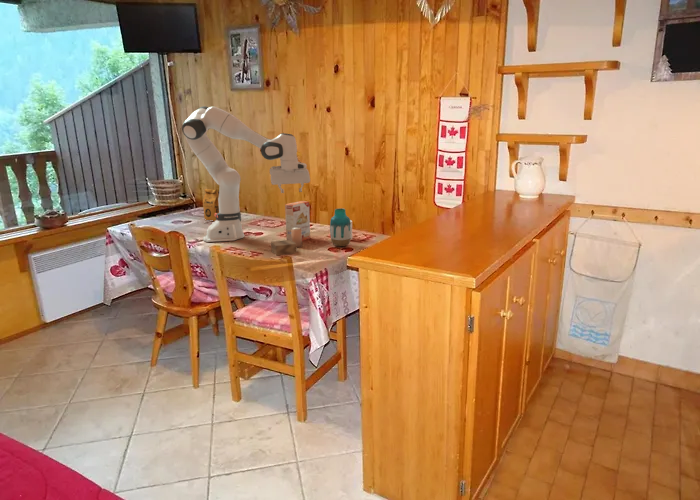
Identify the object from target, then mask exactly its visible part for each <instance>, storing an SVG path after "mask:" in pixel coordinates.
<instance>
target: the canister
mask: <svg viewBox="0 0 700 500" xmlns="http://www.w3.org/2000/svg"><path fill="white" fill-rule="evenodd" d="M291 236H292V241H293V242H294V243H296V249H297V248H301V247H303V241H302V233H301V229H300V228H299V227H295V228H292V229H291Z"/></svg>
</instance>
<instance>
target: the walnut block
mask: <svg viewBox="0 0 700 500" xmlns="http://www.w3.org/2000/svg"><path fill="white" fill-rule="evenodd" d="M270 245H271V247H270V249H271V252H272V253H273V254H274V255H276V256H283V255H284V256H285V255H292V254H297V248H296V243H294V242H293V241H291V240H287V239H285V240H275V241H271V242H270Z"/></svg>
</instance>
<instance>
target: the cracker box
mask: <svg viewBox="0 0 700 500" xmlns="http://www.w3.org/2000/svg"><path fill="white" fill-rule="evenodd" d="M284 207H285V209H284V210H285V211H284V212H285V213H284V214H285V233H286V234H285V235H286V239H285V240H291V241H292V236H291V229H292V228H295V227H299V228H300V229H301V233H302V242H303V241H306V240H309V239H311V225H310V223H311V221H310V219H311V218H310V201H306V200H300V201H296V202H290V203H286V204H284Z"/></svg>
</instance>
